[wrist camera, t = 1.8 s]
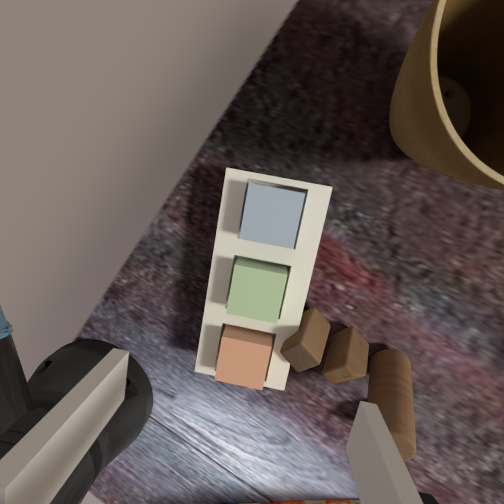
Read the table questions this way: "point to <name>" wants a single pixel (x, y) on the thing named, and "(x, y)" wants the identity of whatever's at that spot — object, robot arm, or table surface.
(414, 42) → the plant pot
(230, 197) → the key console
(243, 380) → the terracotta key
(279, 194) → the blue key
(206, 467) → the table surface
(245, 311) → the sage key
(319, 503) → the stack of blocks
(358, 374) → the wooden block set
